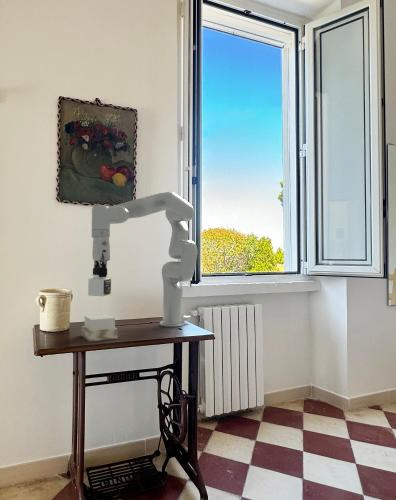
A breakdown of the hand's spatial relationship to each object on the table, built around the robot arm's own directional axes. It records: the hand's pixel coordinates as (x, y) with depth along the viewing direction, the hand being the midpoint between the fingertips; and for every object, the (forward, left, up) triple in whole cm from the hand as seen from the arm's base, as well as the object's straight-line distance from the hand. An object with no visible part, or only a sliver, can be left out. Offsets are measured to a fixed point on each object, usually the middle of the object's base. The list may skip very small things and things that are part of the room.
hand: (100, 276), depth 164 cm
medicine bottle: (0, 0, -8) cm, 8 cm away
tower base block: (0, 0, -26) cm, 26 cm away
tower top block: (0, 0, -22) cm, 22 cm away
